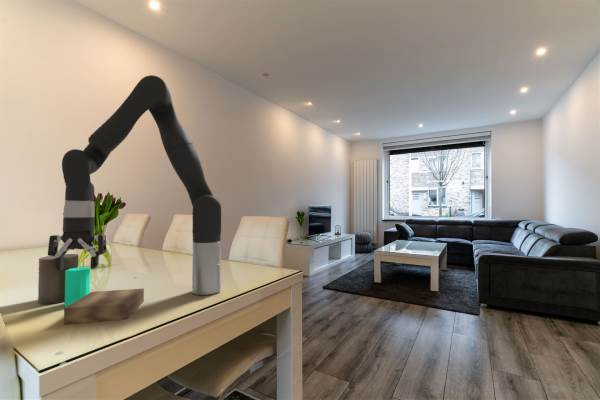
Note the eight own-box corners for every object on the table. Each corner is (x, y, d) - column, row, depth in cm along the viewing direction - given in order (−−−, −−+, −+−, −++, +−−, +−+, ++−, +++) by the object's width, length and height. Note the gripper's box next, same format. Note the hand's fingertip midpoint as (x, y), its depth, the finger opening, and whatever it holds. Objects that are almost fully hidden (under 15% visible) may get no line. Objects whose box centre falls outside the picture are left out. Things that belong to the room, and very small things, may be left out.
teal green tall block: (75, 307, 80) (76, 266, 81) (59, 306, 81) (60, 265, 82) (94, 300, 86) (95, 262, 86) (79, 299, 87) (79, 261, 88)
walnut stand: (143, 301, 85) (143, 288, 86) (127, 319, 72) (127, 303, 72) (91, 305, 82) (91, 291, 82) (63, 324, 68) (64, 308, 69)
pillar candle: (84, 297, 90) (85, 250, 91) (47, 306, 81) (48, 255, 82) (68, 293, 94) (69, 249, 95) (30, 302, 85) (32, 253, 86)
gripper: (110, 215, 90) (109, 265, 89) (59, 215, 86) (57, 267, 86) (100, 216, 83) (98, 270, 82) (43, 216, 79) (41, 273, 79)
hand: (77, 269), depth 84 cm, fingers open, 8 cm apart
